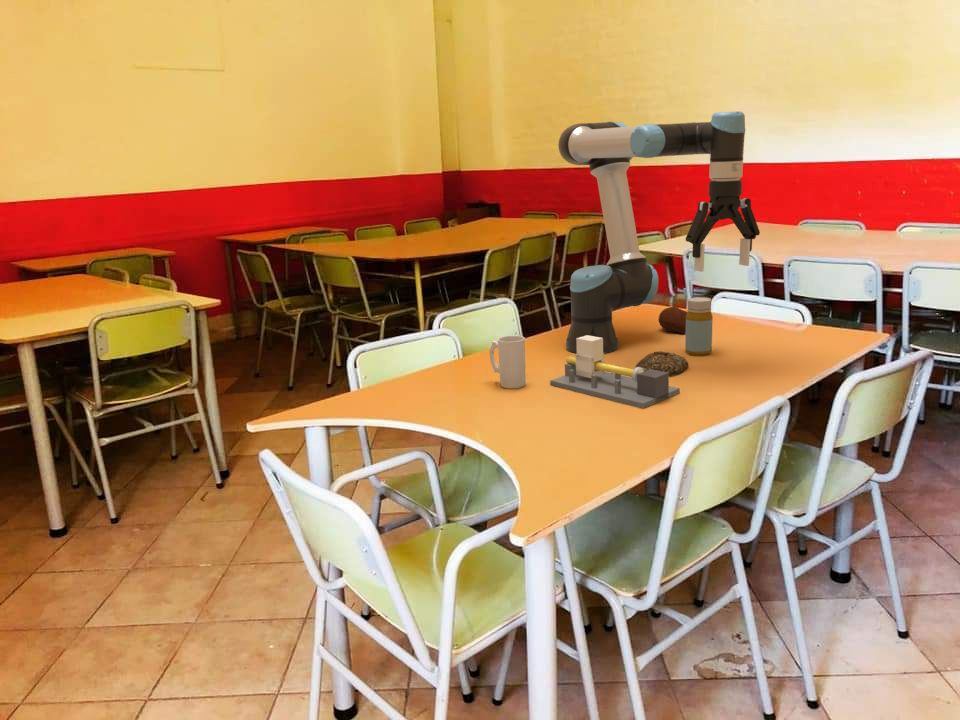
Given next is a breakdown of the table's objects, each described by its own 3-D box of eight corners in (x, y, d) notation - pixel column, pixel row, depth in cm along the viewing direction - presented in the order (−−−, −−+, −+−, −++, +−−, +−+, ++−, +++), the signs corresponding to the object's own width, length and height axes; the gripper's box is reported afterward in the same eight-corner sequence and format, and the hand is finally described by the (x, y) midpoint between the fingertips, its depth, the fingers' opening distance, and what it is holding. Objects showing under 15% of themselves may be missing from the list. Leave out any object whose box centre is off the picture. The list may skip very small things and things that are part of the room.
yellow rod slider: (550, 385, 185) (549, 359, 184) (587, 372, 194) (586, 347, 192) (643, 408, 165) (643, 379, 163) (679, 393, 174) (680, 365, 172)
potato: (687, 336, 224) (687, 310, 222) (652, 332, 232) (652, 307, 230) (697, 331, 230) (698, 306, 228) (663, 327, 237) (663, 303, 235)
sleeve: (576, 374, 184) (575, 338, 182) (588, 370, 187) (588, 334, 185) (591, 378, 181) (591, 341, 178) (604, 373, 184) (604, 337, 181)
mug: (531, 383, 188) (530, 337, 185) (517, 390, 183) (514, 343, 179) (499, 378, 194) (496, 333, 190) (483, 385, 188) (481, 339, 185)
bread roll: (694, 368, 194) (695, 349, 192) (670, 379, 185) (671, 360, 184) (651, 361, 202) (651, 343, 201) (626, 372, 194) (626, 353, 192)
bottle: (683, 355, 204) (684, 301, 201) (686, 349, 211) (687, 296, 207) (710, 356, 202) (711, 302, 198) (712, 350, 208) (714, 297, 204)
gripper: (691, 183, 170) (689, 275, 176) (778, 176, 179) (772, 264, 185) (672, 182, 177) (670, 271, 183) (756, 176, 186) (751, 260, 192)
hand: (721, 268), depth 184 cm, fingers open, 13 cm apart
